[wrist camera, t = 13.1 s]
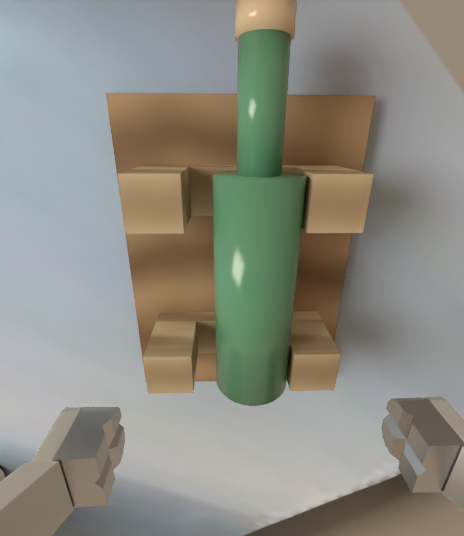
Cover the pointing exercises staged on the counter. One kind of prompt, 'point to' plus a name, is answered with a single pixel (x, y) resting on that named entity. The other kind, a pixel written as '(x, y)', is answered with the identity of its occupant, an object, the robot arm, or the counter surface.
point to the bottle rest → (201, 223)
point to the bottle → (257, 215)
